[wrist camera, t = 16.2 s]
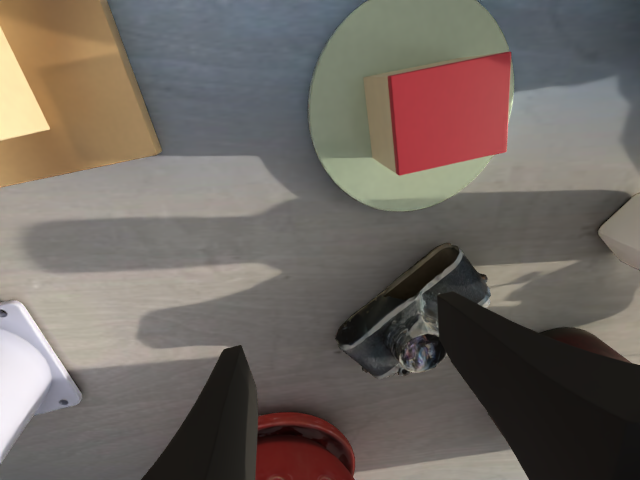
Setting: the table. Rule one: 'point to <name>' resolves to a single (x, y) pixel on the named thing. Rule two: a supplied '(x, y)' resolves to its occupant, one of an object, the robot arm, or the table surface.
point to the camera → (410, 315)
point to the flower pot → (301, 449)
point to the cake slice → (439, 112)
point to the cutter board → (73, 90)
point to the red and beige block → (16, 98)
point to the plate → (380, 57)
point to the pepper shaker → (624, 232)
